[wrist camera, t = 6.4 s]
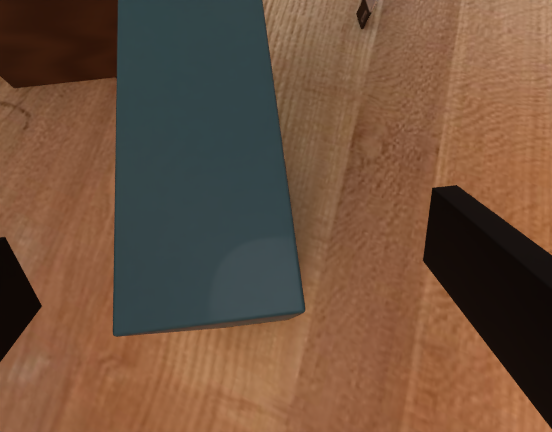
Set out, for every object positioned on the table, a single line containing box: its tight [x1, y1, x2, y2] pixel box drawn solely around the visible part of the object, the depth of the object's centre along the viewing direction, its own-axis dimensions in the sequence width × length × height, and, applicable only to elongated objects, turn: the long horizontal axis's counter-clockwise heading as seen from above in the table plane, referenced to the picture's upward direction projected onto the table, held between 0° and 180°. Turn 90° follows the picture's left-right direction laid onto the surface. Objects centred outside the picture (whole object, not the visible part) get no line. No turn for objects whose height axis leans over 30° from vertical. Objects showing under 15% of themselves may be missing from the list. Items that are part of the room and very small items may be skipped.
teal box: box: [113, 0, 305, 337], centre depth 15 cm, size 4×9×13 cm, turn 7°
